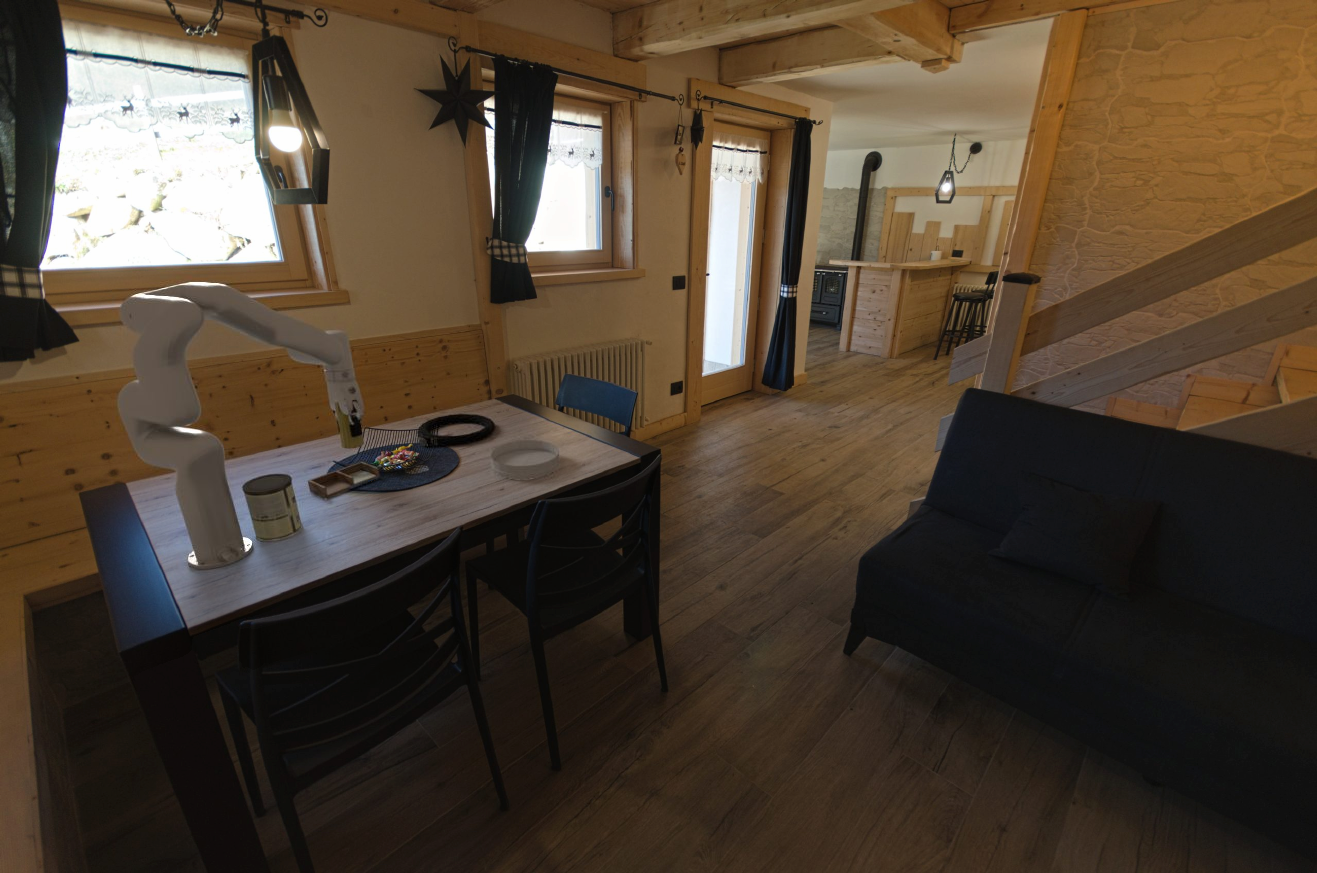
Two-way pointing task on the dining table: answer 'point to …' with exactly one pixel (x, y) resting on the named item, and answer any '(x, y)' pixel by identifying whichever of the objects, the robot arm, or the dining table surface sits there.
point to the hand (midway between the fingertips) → (350, 433)
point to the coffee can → (272, 507)
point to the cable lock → (460, 439)
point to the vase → (347, 430)
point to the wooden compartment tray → (342, 479)
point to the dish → (525, 459)
